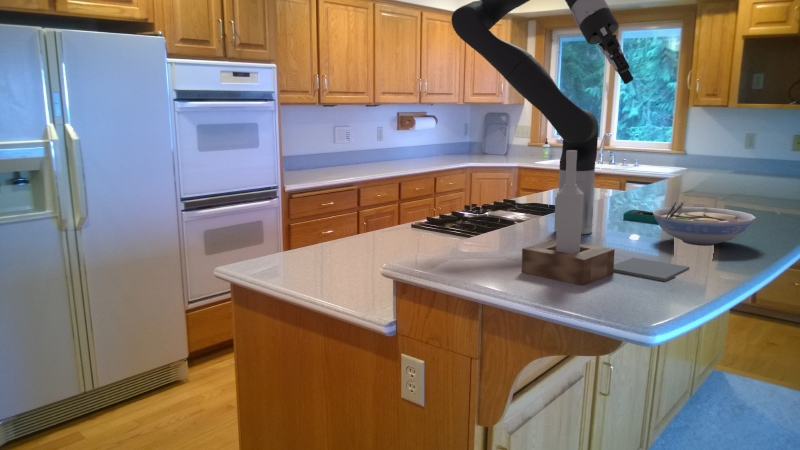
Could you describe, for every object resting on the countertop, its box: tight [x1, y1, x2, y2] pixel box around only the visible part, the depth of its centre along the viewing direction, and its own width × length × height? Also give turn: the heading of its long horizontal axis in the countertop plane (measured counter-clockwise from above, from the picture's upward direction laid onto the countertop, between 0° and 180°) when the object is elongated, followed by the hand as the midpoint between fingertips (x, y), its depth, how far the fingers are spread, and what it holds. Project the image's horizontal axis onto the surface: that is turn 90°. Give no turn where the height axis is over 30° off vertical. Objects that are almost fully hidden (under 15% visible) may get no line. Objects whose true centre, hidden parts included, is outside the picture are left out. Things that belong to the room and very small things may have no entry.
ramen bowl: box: [652, 201, 757, 247], centre depth 144 cm, size 25×23×8 cm
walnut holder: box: [521, 239, 615, 286], centre depth 119 cm, size 14×12×5 cm
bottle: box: [555, 150, 584, 254], centre depth 117 cm, size 5×5×25 cm
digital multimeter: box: [622, 209, 659, 225], centre depth 175 cm, size 7×15×3 cm, turn 39°
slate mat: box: [613, 257, 690, 282], centre depth 121 cm, size 12×12×1 cm
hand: (627, 76), depth 129 cm, fingers open, 8 cm apart
